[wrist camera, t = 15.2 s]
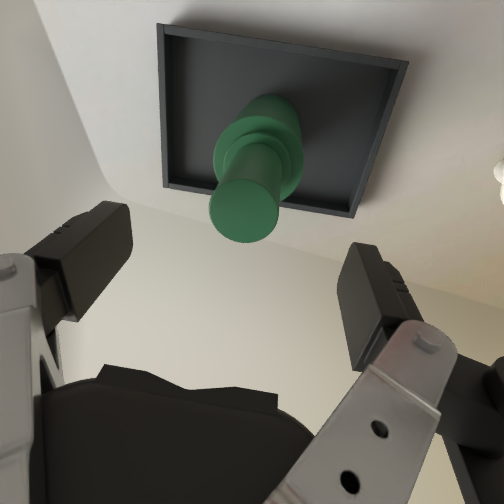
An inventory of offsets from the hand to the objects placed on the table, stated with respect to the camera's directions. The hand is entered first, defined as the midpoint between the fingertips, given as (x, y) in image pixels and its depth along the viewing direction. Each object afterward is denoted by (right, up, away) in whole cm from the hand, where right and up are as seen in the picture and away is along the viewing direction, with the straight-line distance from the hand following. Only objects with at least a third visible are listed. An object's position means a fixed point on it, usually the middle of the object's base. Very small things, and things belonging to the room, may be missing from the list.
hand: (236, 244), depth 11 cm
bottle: (+2, +11, +17) cm, 20 cm away
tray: (+2, +11, +17) cm, 21 cm away
